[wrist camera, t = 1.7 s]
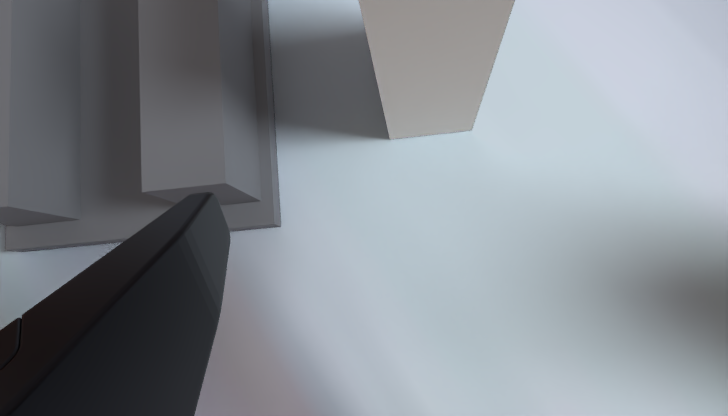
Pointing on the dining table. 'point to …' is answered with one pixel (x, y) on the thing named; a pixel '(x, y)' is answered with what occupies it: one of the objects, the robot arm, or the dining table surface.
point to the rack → (132, 116)
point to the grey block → (433, 60)
